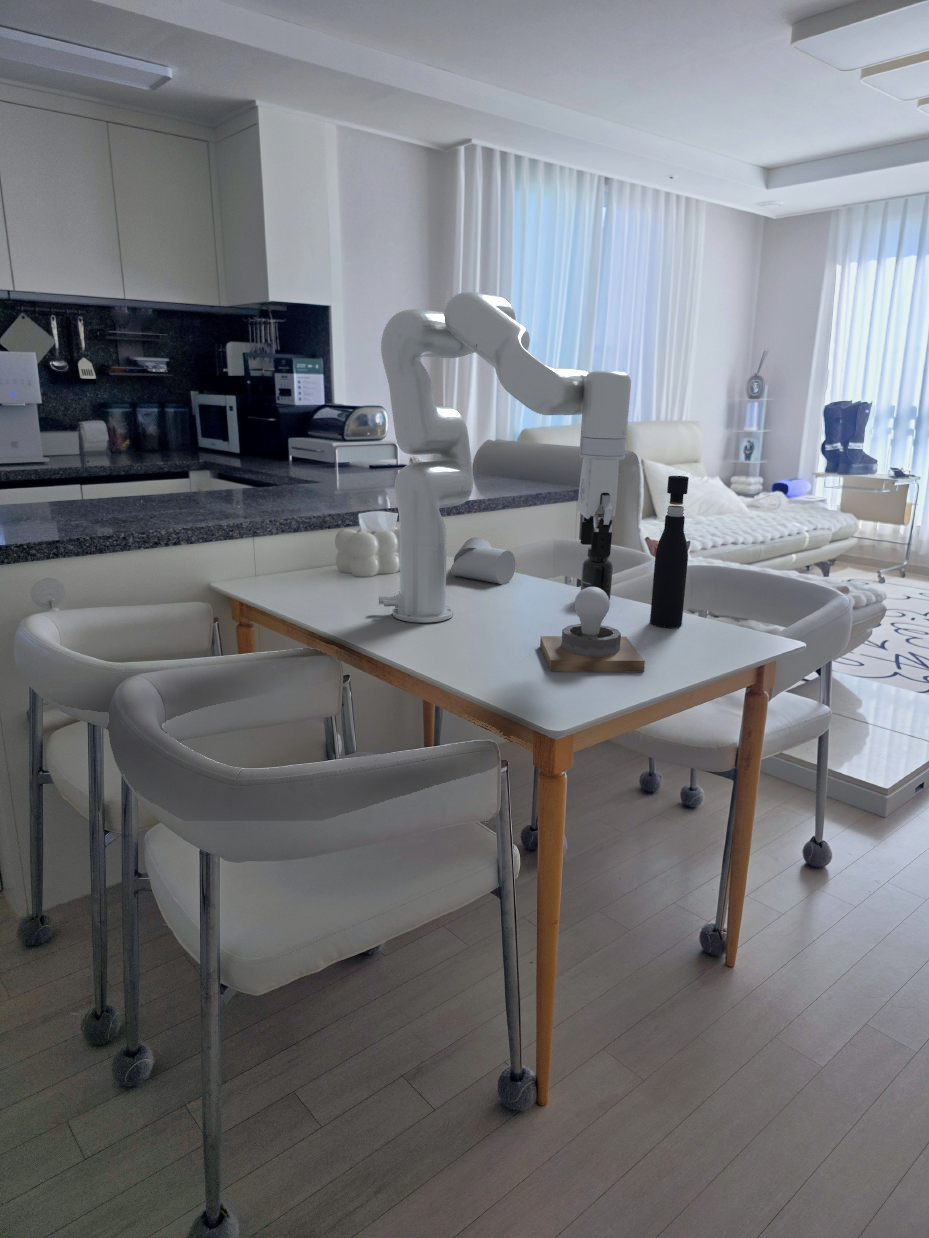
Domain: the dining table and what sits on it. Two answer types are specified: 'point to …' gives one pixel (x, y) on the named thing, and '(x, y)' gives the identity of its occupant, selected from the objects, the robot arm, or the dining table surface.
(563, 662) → the socket base
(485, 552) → the l-shaped cylinder
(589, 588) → the lightbulb
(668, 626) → the black water bottle
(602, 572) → the supplement bottle
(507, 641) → the dining table surface
